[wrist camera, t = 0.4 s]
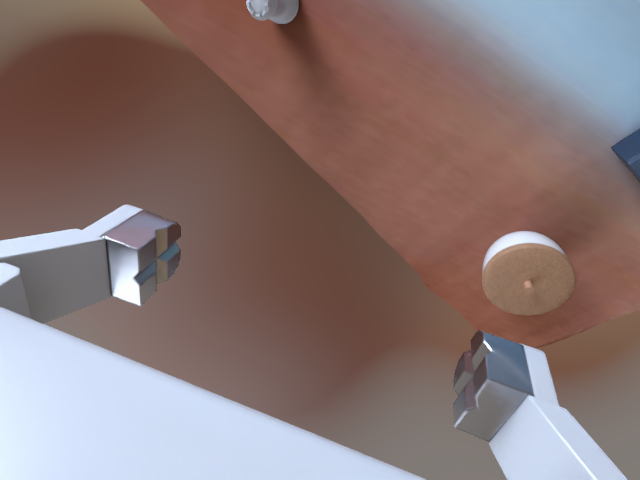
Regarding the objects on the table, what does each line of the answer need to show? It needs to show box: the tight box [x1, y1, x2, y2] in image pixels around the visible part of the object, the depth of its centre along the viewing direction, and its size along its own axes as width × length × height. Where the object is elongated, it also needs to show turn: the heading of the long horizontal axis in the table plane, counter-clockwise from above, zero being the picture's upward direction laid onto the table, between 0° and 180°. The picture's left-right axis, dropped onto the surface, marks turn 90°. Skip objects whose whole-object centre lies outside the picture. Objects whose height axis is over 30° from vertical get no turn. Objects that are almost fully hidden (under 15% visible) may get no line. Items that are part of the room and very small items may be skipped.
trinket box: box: [482, 231, 576, 315], centre depth 54 cm, size 11×11×9 cm
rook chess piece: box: [246, 0, 299, 24], centre depth 47 cm, size 4×4×8 cm
